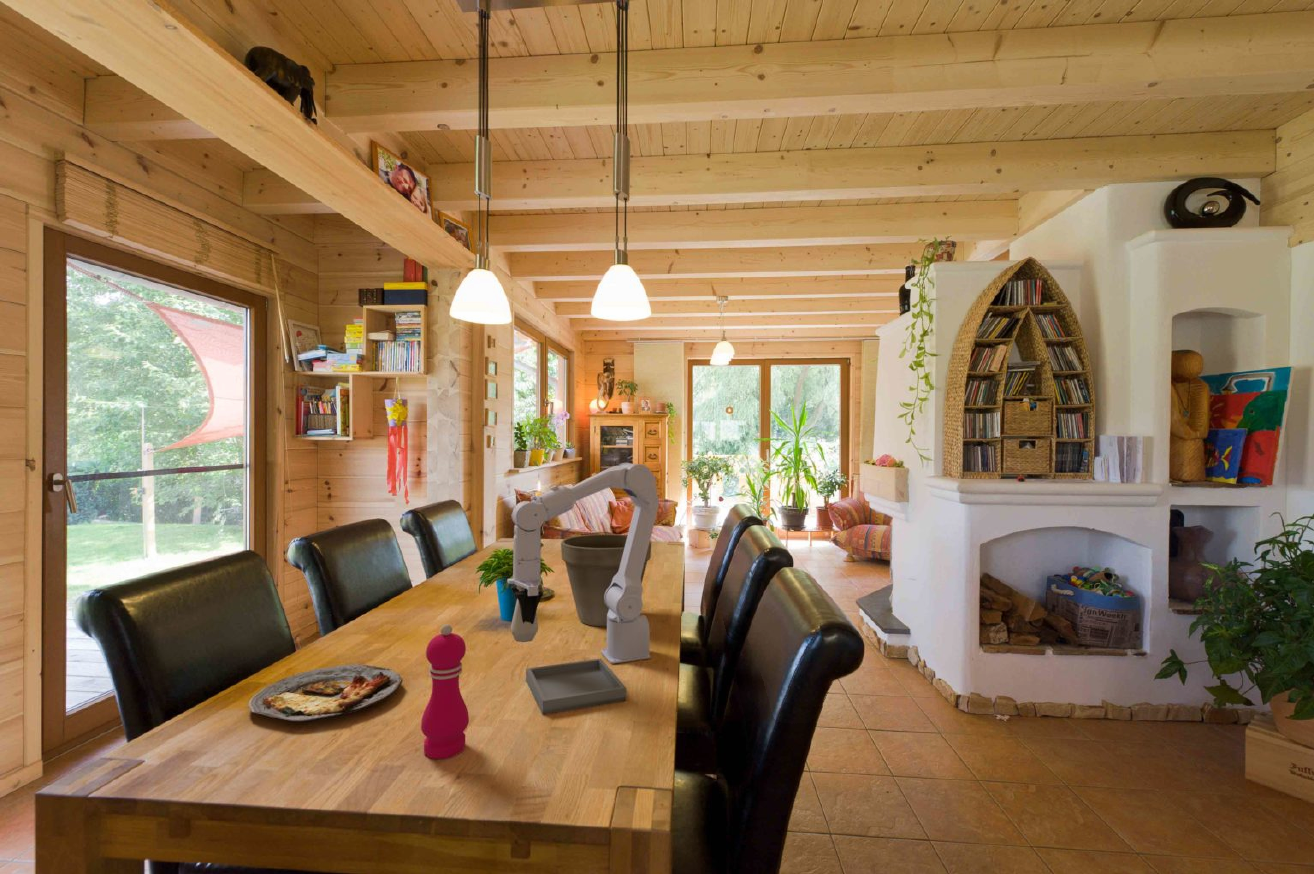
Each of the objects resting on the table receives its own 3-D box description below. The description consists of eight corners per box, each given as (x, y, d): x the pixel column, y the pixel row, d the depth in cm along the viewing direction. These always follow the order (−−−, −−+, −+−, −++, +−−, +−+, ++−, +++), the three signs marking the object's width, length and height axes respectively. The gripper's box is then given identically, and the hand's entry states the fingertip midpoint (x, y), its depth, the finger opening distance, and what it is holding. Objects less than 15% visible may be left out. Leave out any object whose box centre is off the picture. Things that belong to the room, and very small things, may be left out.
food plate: (426, 683, 121) (426, 666, 121) (329, 740, 99) (328, 719, 99) (330, 669, 129) (330, 653, 129) (221, 719, 107) (220, 699, 107)
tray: (600, 669, 130) (601, 658, 130) (626, 700, 115) (626, 687, 115) (525, 680, 123) (526, 668, 123) (542, 714, 109) (542, 700, 109)
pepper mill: (428, 738, 100) (429, 617, 100) (472, 737, 101) (474, 617, 100) (414, 761, 93) (416, 632, 93) (462, 760, 93) (464, 631, 93)
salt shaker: (530, 645, 126) (533, 582, 126) (505, 641, 127) (508, 579, 127) (542, 636, 131) (544, 576, 131) (517, 633, 133) (520, 574, 133)
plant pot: (569, 604, 179) (570, 531, 179) (652, 606, 178) (653, 533, 178) (551, 632, 154) (552, 547, 154) (647, 634, 153) (649, 549, 153)
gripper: (502, 552, 134) (502, 613, 134) (513, 566, 121) (513, 633, 121) (534, 550, 137) (533, 610, 137) (548, 563, 124) (547, 629, 124)
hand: (526, 621), depth 129 cm, fingers closed on salt shaker, 4 cm apart
